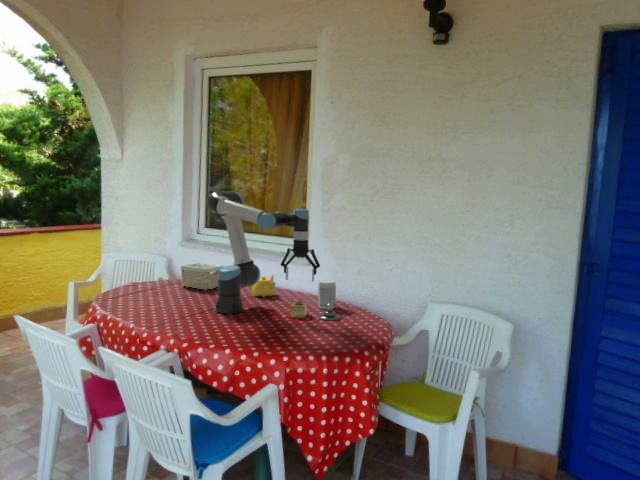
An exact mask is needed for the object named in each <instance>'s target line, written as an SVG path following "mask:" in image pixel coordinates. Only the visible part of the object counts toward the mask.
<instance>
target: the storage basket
mask: <svg viewBox="0 0 640 480" xmlns="http://www.w3.org/2000/svg"><path fill="white" fill-rule="evenodd" d="M222 267H224V266H223V265H220V264H215V263H208V262H202V261H196V262H189V263H183V264H181V266H180V270H181V283H182V285H183V284H184V285H187V286H192V287H196V288H201V289H210V288H215V287H218V272H219V269H220V268H222Z"/></svg>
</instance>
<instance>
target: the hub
mask: <svg viewBox="0 0 640 480" xmlns="http://www.w3.org/2000/svg"><path fill="white" fill-rule="evenodd" d="M332 305H333V304H327V309H325V310H324V311H323V313H320V314H318V315H317V319H318V320H322V321H327V322H328V321H329V322H333V321H334V322H335V321H339V320H341V319H342V316H341V315H340V314H338V313H336V311H335V310H333V308H332Z"/></svg>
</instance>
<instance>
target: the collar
mask: <svg viewBox="0 0 640 480" xmlns="http://www.w3.org/2000/svg"><path fill="white" fill-rule="evenodd" d="M307 305H308V303H307V302H301V305H297V301H296V302H294V301H293V302H292V304H291V305H290V317H291V318H297V319H300V318H302V319H305V318H306V315H307V310H308V306H307Z"/></svg>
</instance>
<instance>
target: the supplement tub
mask: <svg viewBox="0 0 640 480" xmlns="http://www.w3.org/2000/svg"><path fill="white" fill-rule="evenodd" d="M336 285H337V284H336V280H333V279H331V280H330V279H321V280H318V290H317V291H318V297H317V299H318V300H317V301H318V302H317V305H318V308H319V309H323V310H327V304H333V305H332V309H335V307H336V292H337V291H336Z"/></svg>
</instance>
